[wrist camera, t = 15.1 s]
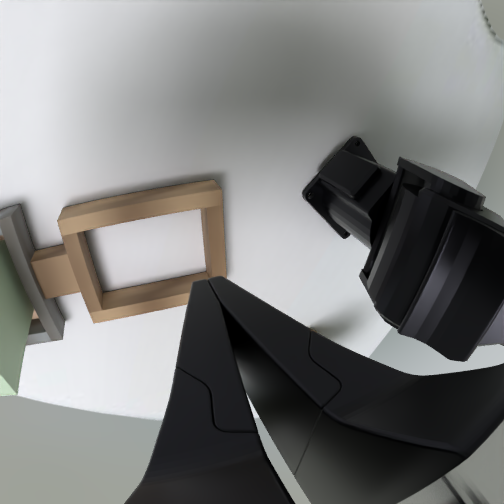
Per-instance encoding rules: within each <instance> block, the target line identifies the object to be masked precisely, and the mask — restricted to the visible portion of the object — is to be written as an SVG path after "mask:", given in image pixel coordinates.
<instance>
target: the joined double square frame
mask: <svg viewBox="0 0 504 504" xmlns="http://www.w3.org/2000/svg"><path fill="white" fill-rule="evenodd" d="M195 209H201V219H202V231H203V242H204V252H205V262H206V272H202V273H197V274H193V275H188V276H183V277H178V278H173V279H169V280H164V281H159V282H154V283H149V284H144V285H139V286H134V287H130V288H125V289H120V290H115V291H110V292H105V293H103V292H102V289H101V286H100V283H99V280H98V277H97V274H96V271H95V268H94V264H93V261H92V258H91V254H90V251H89V248H88V244H87V241H86V237H85V233H84V231H86V230H91V229H96V228H100V227H105V226H110V225H115V224H120V223H124V222H129V221H135V220H140V219H145V218H150V217H155V216H161V215H166V214H172V213H177V212H183V211H189V210H195ZM57 222H58V226H59V229H60V232H61V236H62V239H63V242H64V244H62V245H58V246H54V247H49V248H45V249H41V250H37V251H35V249H34V246H33V243H32V240H31V237H30V234H29V231H28V228H27V225H26V222H25V219H24V215H23V212H22V208H21V205H20V204H18V205H14V206H11V207H8V208H4V209H1V210H0V240H4V239H5V242H6V245H7V248H8V250H9V253H10V255H11V258H12V261H13V263H14V265H15V268H16V270H17V273H18V275H19V277H20V280H21V282H22V284H23V286H24V289H25V291H26V293H27V295H28V297H29V299H30V301H31V303H32V305H33V307H34V312H33V316H32V320H31V324H30V328H29V333H28V337H27V342H26V345H32V344H39V343H45V342H51V341H57V340H63V333H64V325H65V321H64V319H63V316H62V314H61V312H60V310H59V308H58V306H57V304H56V301H55V299H54V297H59V296H64V295H68V294H73V293H78V292H81V294H82V296H83V299H84V301H85V304H86V306H87V309H88V311H89V314H90V316H91V318H92V321H93V323H99V322H104V321H109V320H114V319H119V318H124V317H129V316H134V315H139V314H144V313H149V312H154V311H159V310H163V309H168V308H173V307H177V306H182V305H186V304H188V299H189V294H190V289H191V285H192V282H193V281H197V280H202V279H206V280H208V278H211V277H216V276H223V277H225V278H227V275H226V258H225V240H224V221H223V199H222V189H221V188H220V186H219V185H218V184H217V183H216V182H215V181H214V180H207V181H200V182H194V183H187V184H181V185H175V186H169V187H163V188H157V189H151V190H146V191H140V192H135V193H130V194H124V195H119V196H114V197H110V198H105V199H100V200H95V201H91V202H86V203H82V204H77V205H73V206H69V207H65V208H63V209H62V211H61V214H60V216H59V218H58V220H57Z"/></svg>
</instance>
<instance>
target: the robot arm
mask: <svg viewBox="0 0 504 504" xmlns="http://www.w3.org/2000/svg"><path fill="white" fill-rule="evenodd" d="M356 141H357V144H356V145H355V142H356ZM397 165H399V166H398V169H397V172H394V171H392V170H390V169H388V168H386V167H384V166H381V165H379V164H378V163H377V162H376V160H375V159H374V157H373V156H372V154H371V153H370V151H369V150H368V148H367V146H366V145H365V144H364V142H363V141H362V139H361V138H359V137H356V136H353V137H352V138H351V139H350V140H349V141H348V142H347V143H346V144H345V145H344V147H343V148H342V149H341V150H339V152H338V153H337V154H336V155H335V156H334V157H333V158H332V159H331V160H330V162H329V163H328V164H327V165H326V166H325V167H324V168H323V169H322V170H321V172H320V173H319V174H318V175H317V177H316V178H315V179H314V180H313V181H312V182H311V183H310V184H309V185H308V187H307V188H306V189H305V190H304V191H303V198H304V199H305V200H306V201H307V202H308V203H309V204H310V205H311V206H312V207H313V208H314V210H315V211H316V212H317V213H318V214H319V215H320V216H321V217H322V218H323V219H324V220H325V221H326V222H327V223H328V224H329V225H330V226H331V227H332V228H333V229H334V230H335V231H336V232H337V234H338V235H339V236H340V237H342V238H343V239H346V238H348V237H349V236H350V235H351V234H352V235H353V236H354V237H355V238H357V239H358V240H359V241H360V242H362V243H363V244H364V245H365V246H367V247H368V248H369V249H370V253H369V256H368V258H367V261H366V263H365V266H364V268H363V269H362V270H361V272H360V275H359V277H360V279H361V281H362V283H363V285H364V286H365V288H366V290H367V292H368V294H369V296H370V298H371V300H372V302H373V303H374V307H375V309H376V311H377V312H378V313H379V314H380V316H381V317H382V318H383V319H384V321H385V322H387V323H388V324H390V325H391V326H393V327H394V328H396V329H398V330H397V331H398V333H399V334H401V335H405V336H408V337H412V338H414V339H417V340H419V341H421V342H423V343H425V344H427V345H428V346H430V347H432V348H433V349H435V350H436V351H437V352H439V353H440V354H442V355H443V356H445V357H446V358H447V359H449V360H454V361H462V362H465V361H467V360H468V359H469V357H470V356H471V354H472V353H473V352H474V350H475V349H476V347H477V346H485V345H494V344H500V345H503V346H504V220H503V218H502V217H501V216H500V215H498V214H496V213H495V212H493V211H491V210H489V209H487V208H485V207H484V206H483V204H484V201H485V198H486V197H485V196H484V195H482V194H481V193H480V192H478V191H477V190H475V189H474V188H473V187H471V186H470V185H468V184H467V183H465V182H464V181H462V180H460V179H458V178H456V177H454V176H452V175H449V174H447V173H445V172H443V171H440V170H438V169H436V168H433V167H430V166H427V165H424V164H421V163H418V162H415V161H411V160H408V159H405V158H402V157H399V160H398V164H397ZM309 193H311V195H310V196H309V197H308V195H309ZM345 231H346V232H345ZM344 232H345V233H344ZM246 393H247V394H246ZM247 395H248V397H249V399H250V401H251V402H252V404H253V406H254V408H255V410H256V412H257V413H258V415H259V417H260V419H261V421H262V422H263V424H264V426H265V428H266V429H267V431H268V433H269V435H270V436H271V438H272V440H273V442H274V443H275V445H276V447H277V449H278V450H279V452H280V454H281V455H282V457H283V459H284V460H285V462H286V464H287V465H288V467H289V469H290V470H291V472H292V474H293V475H295V476H294V477H295V479H296V480H297V482H298V484H299V485H300V487H301V488H302V490H303V491H304V493H305V494H306V496H307V498H308V499H309V501H310V502H311V504H504V363H503V364H500V365H497V366H492V367H488V368H481V369H475V370H470V371H462V372H454V373H447V374H439V375H428V376H418V375H412V374H407V373H404V372H401V371H399V370H396V369H394V368H391V367H389V366H386V365H384V364H381V363H379V362H377V361H374V360H372V359H370V358H367V357H365V356H363V355H360V354H358V353H356V352H354V351H351V350H349V349H347V348H345V347H343V346H341V345H339V344H337V343H335V342H333V341H331V340H329V339H328V338H326V337H324V336H322V335H320V334H319V333H317V332H315V331H313V330H312V331H311V329H310V328H308V327H306V326H305V325H303V324H301V323H300V322H298V321H296V320H294V319H293V318H291V317H289V316H288V315H286V314H284V313H283V312H281V311H279V310H278V309H276V308H274V307H273V306H271V305H269V304H268V303H266V302H264V301H263V300H261V299H259V298H258V297H256V296H254V295H253V294H251V293H249V292H248V291H246V290H244V289H243V288H241V287H239V286H238V285H236V284H235V283H233V282H231V281H230V280H228V279H227V278H225V277H223V276H216V277H211V278H208V280H206V279H202V280H197V281H193V282H192V285H191V289H190V294H189V299H188V304H187V309H186V314H185V319H184V324H183V329H182V335H181V340H180V345H179V351H178V357H177V362H176V369H175V373H174V378H173V384H172V388H171V393H170V398H169V401H168V405H167V408H166V412H165V415H164V419H163V422H162V425H161V428H160V431H159V434H158V437H157V440H156V443H155V446H154V450H153V453H152V456H151V459H150V462H149V465H148V468H147V470H146V472H145V475H144V477H143V479H142V481H141V482H140V484H139V485H138V487H137V488H136V489H135V491H134V492H133V493H132V494H131V496H130V497H129V498H128V499H127V501H126V502H125V503H124V504H295V502H294V501H293V499H292V498H291V496H290V494H289V493H288V491H287V489H286V488H285V486H284V484H283V483H282V481H281V479H280V477H279V476H278V474H277V472H276V471H275V469H274V467H273V465H272V464H271V462H270V460H269V458H268V457H267V454H266V452H265V449H264V447H263V445H262V442H261V439H260V436H259V434H258V430H257V426H256V423H255V420H254V417H253V414H252V411H251V407H250V404H249V401H248V398H247Z"/></svg>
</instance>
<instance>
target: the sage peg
mask: <svg viewBox="0 0 504 504" xmlns="http://www.w3.org/2000/svg"><path fill="white" fill-rule="evenodd" d="M33 312H34V307H33V305H32V303H31V301H30V299H29V297H28V295H27V293H26V291H25V289H24V286H23V284H22V282H21V280H20V277H19V275H18V273H17V270H16V268H15V265H14V263H13V261H12V258H11V255H10V253H9V250H8V248H7V245H6V242H5V239H4V240H0V396H8V395H17V394H18V387H19V380H20V373H21V367H22V362H23V356H24V351H25V346H26V342H27V337H28V333H29V328H30V324H31V320H32V316H33Z"/></svg>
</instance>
